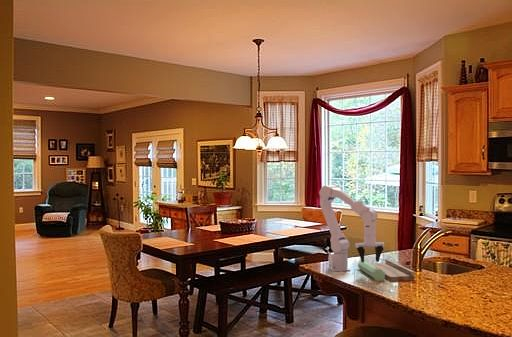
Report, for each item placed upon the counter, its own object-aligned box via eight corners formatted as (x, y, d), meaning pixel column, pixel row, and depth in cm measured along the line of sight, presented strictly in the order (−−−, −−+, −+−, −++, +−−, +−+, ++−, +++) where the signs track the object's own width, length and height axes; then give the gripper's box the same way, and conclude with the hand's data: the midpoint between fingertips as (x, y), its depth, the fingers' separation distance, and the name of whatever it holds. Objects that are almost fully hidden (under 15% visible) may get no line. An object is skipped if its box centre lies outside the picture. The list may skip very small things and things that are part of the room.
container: (358, 257, 234) (375, 267, 209) (368, 261, 235) (387, 271, 210) (354, 267, 234) (371, 279, 209) (364, 271, 234) (382, 283, 210)
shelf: (390, 281, 209) (390, 272, 209) (366, 267, 236) (366, 259, 236) (414, 280, 210) (414, 271, 210) (388, 266, 238) (387, 259, 238)
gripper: (358, 236, 217) (359, 264, 217) (387, 235, 219) (387, 262, 219) (353, 233, 224) (353, 261, 224) (381, 232, 226) (381, 259, 226)
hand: (370, 261), depth 222 cm, fingers open, 7 cm apart
